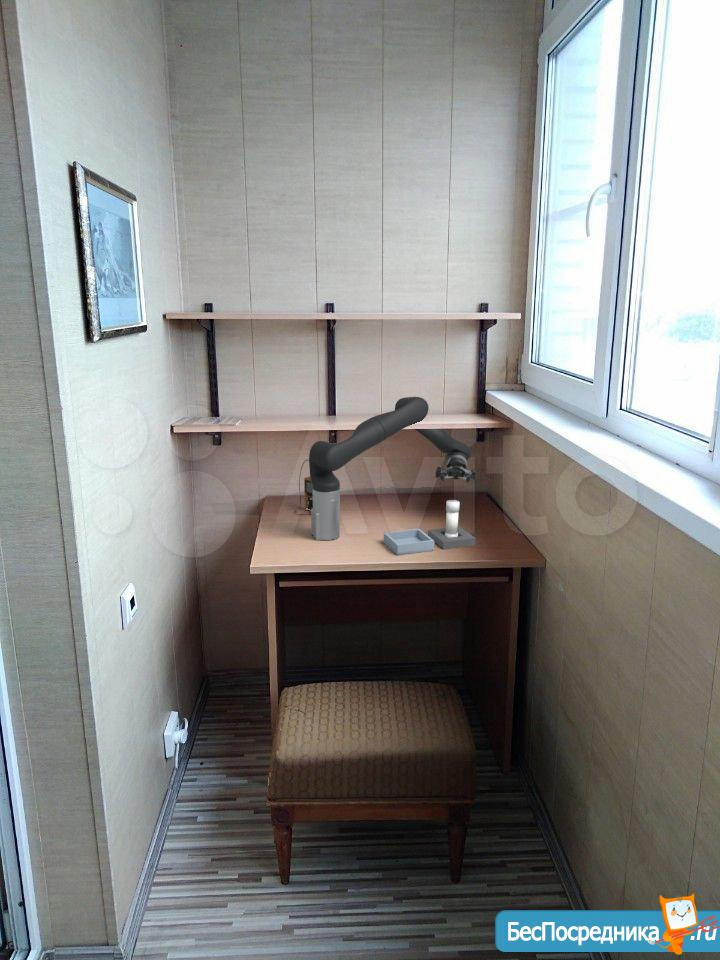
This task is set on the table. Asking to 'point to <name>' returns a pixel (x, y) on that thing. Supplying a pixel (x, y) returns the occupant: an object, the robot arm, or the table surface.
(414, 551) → the parts tray
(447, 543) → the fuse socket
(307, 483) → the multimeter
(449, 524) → the fuse
